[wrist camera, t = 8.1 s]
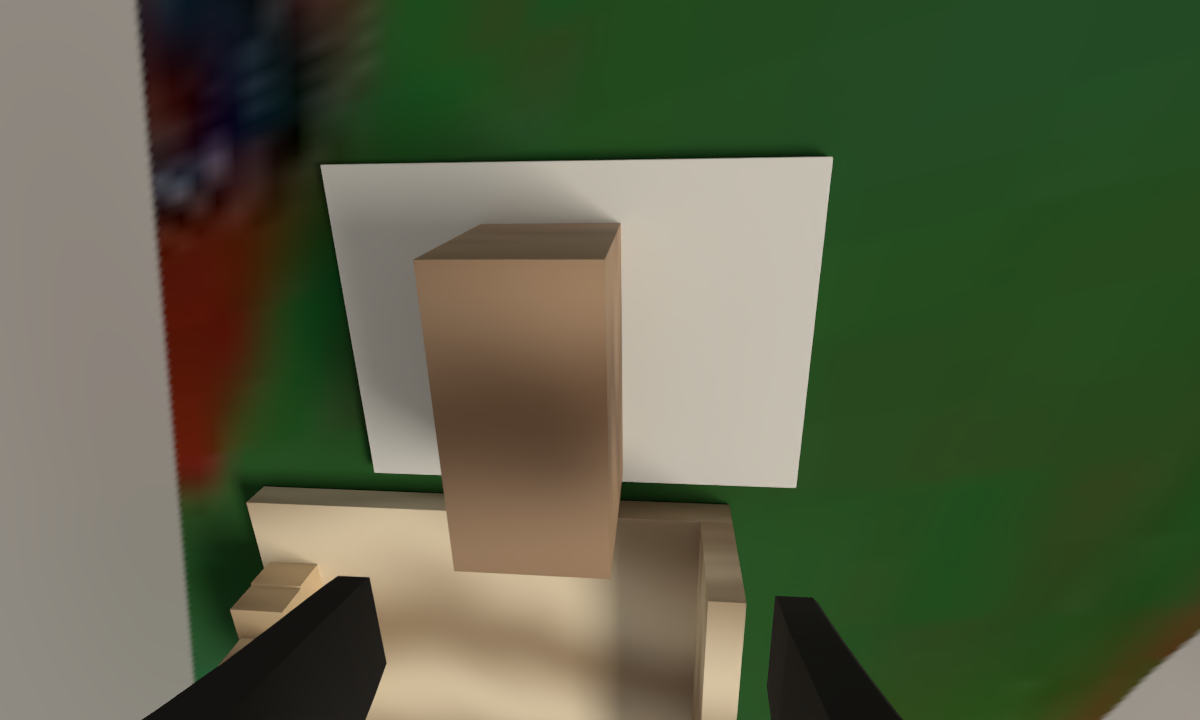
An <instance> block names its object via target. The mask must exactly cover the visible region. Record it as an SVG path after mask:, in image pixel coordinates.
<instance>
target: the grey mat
mask: <svg viewBox="0 0 1200 720" xmlns="http://www.w3.org/2000/svg"><path fill="white" fill-rule="evenodd" d="M832 162H833V157H830V156H816V157H753V158H691V159H628V160H566V161H503V162H441V163H378V164H326V165H320V166H321V171H322V177H323V183H324V188H325V194H326V200H327V205H328V211H329V217H330V222H331V228H332V234H333V239H334V245H335V251H336V256H337V262H338V268H339V274H340V279H341V285H342V291H343V296H344V302H345V308H346V313H347V319H348V325H349V330H350V336H351V342H352V347H353V353H354V359H355V364H356V370H357V376H358V381H359V387H360V393H361V398H362V404H363V410H364V415H365V421H366V427H367V432H368V438H369V444H370V449H371V455H372V461H373V466H374V472H375V473H398V474H426V475H441V468H440V460H439V453H438V445H437V438H436V430H435V423H434V415H433V407H432V400H431V392H430V385H429V377H428V369H427V362H426V354H425V347H424V339H423V331H422V324H421V316H420V309H419V301H418V294H417V286H416V278H415V271H414V263H413V259H415V258H417V257H419V256H421V255H423V254H425V253H427V252H428V251H430V250H432V249H434V248H436V247H438V246H440V245H442V244H444V243H446V242H447V241H449V240H451V239H453V238H455V237H457V236H459V235H461V234H463V233H464V232H466V231H468V230H470V229H472V228H474V227H476V226H478V225H480V224H552V223H621V294H622V419H623V476H622V482H647V483H674V484H702V485H730V486H757V487H785V488H796V484H797V475H798V466H799V457H800V448H801V439H802V430H803V421H804V412H805V403H806V395H807V386H808V377H809V368H810V359H811V350H812V341H813V332H814V323H815V314H816V305H817V296H818V287H819V278H820V270H821V261H822V252H823V243H824V234H825V225H826V216H827V207H828V198H829V189H830V180H831V171H832Z"/></svg>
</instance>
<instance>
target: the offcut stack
mask: <svg viewBox="0 0 1200 720" xmlns="http://www.w3.org/2000/svg"><path fill="white" fill-rule="evenodd" d="M322 587H323V586H322V581H321V577H320V573H319V568H318V564H300V563H281V562H270V563H269V564H268V565H267V566H266V567H265V568H264V569H263V570H262V571H261V572H260V574H259V575H258V576H257V577H256V578H255V579H254V580H253V581H252V582H251V587H250V588H249V589H248V590H247V591H246V592H245V593H244V594H243V595H242V597H241V598H240V599H239V600H238V601H237V602H236V603H235V604H234V605H233V607H232V608H231V609H230V611H231V615H232V618H233V621H234V625H235V628H236V631H237V634H238V638H239V641H238V643H237V644H236V645H235V646H234V647H233V649H232V650H231V651H230V652H229V653H228V655H227V656H226V657H225V658H224V660H223V661H222V662H221V663H220V664H219V665H221V664H222V663H223V662H225V661H226V660H227V659H229V658H230V657H231V656H233V655H234V654H235V653H237V652H238V651H239V650H241V649H242V648H243V647H245V646H246V645H247V644H248V643H250V642H251V641H252V640H254V639H255V638H256V637H258V636H259V635H260V634H262V633H263V632H264V631H266V630H267V629H268V628H270V627H271V626H272V625H273V624H275V623H276V622H277V621H279V620H280V619H281V618H282V617H284V616H285V615H286V614H288V613H289V612H290V611H292V610H293V609H294V608H295V607H297V606H298V605H299V604H301V603H302V602H303V601H304V600H306V599H307V598H308V597H310V596H311V595H312V594H314V593H315V592H316V591H318V590H319V589H320V588H322Z"/></svg>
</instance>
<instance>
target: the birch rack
mask: <svg viewBox="0 0 1200 720" xmlns="http://www.w3.org/2000/svg"><path fill="white" fill-rule="evenodd" d="M246 503H247V507H248V511H249V514H250V518H251V522H252V526H253V529H254V533H255V537H256V540H257V544H258V548H259V552H260V555H261V559H262V563H263V566H264V568H265V567H266V566H267V565H268V564H269V563H270V562H281V563H300V564H318V568H319V573H320V577H321V581H322V586H324V585H326V584H327V583H328V582H330V581H331V580H333V579H334V578H335V577H337V576H353V577H370V582H371V587H372V592H373V597H374V602H375V607H376V612H377V617H378V622H379V627H380V632H381V637H382V642H383V647H384V652H385V657H386V662H387V664H386V667H385V670H384V672H383V675H382V678H381V681H380V683H379V686H378V689H377V692H376V695H375V697H374V700H373V702H372V705H371V707H370V710H369V712H368V715H367V718H366V720H737V709H738V697H739V685H740V673H741V661H742V649H743V638H744V626H745V614H746V598H745V592H744V587H743V581H742V575H741V570H740V564H739V558H738V552H737V547H736V541H735V535H734V530H733V524H732V518H731V512H730V507H729V505H723V504H697V503H672V502H646V501H621V500H620V502H619V510H618V519H617V528H616V536H615V545H614V553H613V562H612V570H611V579H596V578H576V577H557V576H537V575H518V574H498V573H479V572H460V571H454V567H453V559H452V551H451V544H450V536H449V529H448V521H447V514H446V506H445V498H444V494H443V493H417V492H392V491H366V490H341V489H315V488H290V487H263V488H262V489H261V490H260V491H259V492H257V493H256V494H255V495H254V496H253V497H252V498H251V499H250V500H248V501H247V502H246Z"/></svg>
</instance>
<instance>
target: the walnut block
mask: <svg viewBox="0 0 1200 720" xmlns="http://www.w3.org/2000/svg"><path fill="white" fill-rule="evenodd" d="M413 263H414V271H415V278H416V286H417V294H418V301H419V309H420V316H421V324H422V331H423V339H424V347H425V354H426V362H427V369H428V377H429V385H430V392H431V400H432V407H433V415H434V423H435V430H436V438H437V445H438V453H439V460H440V468H441V476H442V483H443V491H444V498H445V506H446V514H447V521H448V529H449V536H450V544H451V551H452V559H453V567H454V571H460V572H479V573H498V574H518V575H537V576H557V577H576V578H596V579H611V570H612V562H613V553H614V545H615V536H616V528H617V519H618V510H619V502H620V493H621V485H622V476H623V419H622V294H621V223H552V224H480V225H478V226H476V227H474V228H472V229H470V230H468V231H466V232H464V233H463V234H461V235H459V236H457V237H455V238H453V239H451V240H449V241H447V242H446V243H444V244H442V245H440V246H438V247H436V248H434V249H432V250H430V251H428V252H427V253H425V254H423V255H421V256H419V257H417V258H415V259H413Z"/></svg>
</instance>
